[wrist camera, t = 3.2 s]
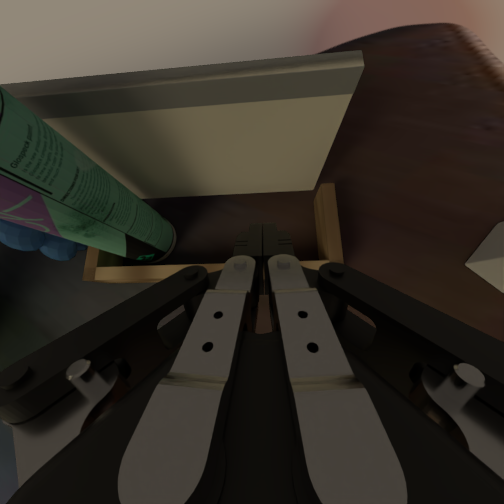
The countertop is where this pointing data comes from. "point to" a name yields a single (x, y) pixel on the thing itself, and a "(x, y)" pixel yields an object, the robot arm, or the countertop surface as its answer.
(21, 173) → the spray can
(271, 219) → the countertop surface
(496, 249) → the milk
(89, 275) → the wooden u-shaped bracket
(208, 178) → the cream thin rectangular board
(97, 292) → the countertop surface
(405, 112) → the countertop surface
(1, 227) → the grapes
